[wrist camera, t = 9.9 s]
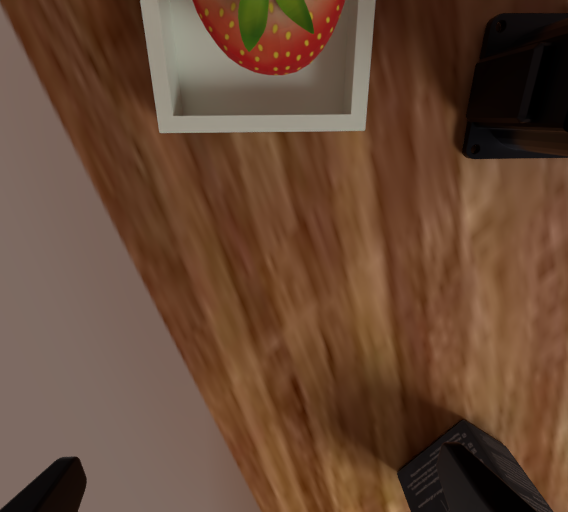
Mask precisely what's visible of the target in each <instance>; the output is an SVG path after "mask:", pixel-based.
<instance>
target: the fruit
mask: <svg viewBox="0 0 568 512" xmlns="http://www.w3.org/2000/svg"><path fill="white" fill-rule="evenodd" d="M192 1H193V3H194V6H195V9H196V11H197V14H198V15H199V17H200V19H201V21H202V23H203V24H204V26H205V28H206V30H207V31H208V33H209V34H210V35H211V37H212V38H213V40H214V41H215V43H216V44H217V46H218V47H219V48H220V49H221V50H222V51H223V52H224V53H225V54H226V55H227V57H228V58H230V59H231V60H233V61H234V62H235V63H237V64H238V65H240V66H241V67H244V68H246V69H248V70H250V71H253V72H255V73H259V74H265V75H286V74H290V73H295V72H297V71H299V70H301V69H302V68H304V67H306V66H307V65H309V64H310V63H311V62H312V61H313V60H314V59H315V58H316V57H317V56H318V55H319V54H320V53H321V51H322V50H323V49H324V47H325V45H326V44H327V42H328V41H329V39H330V37H331V36H332V33H333V31H334V29H335V27H336V25H337V22H338V20H339V18H340V15H341V12H342V9H343V6H344V3H345V0H192Z"/></svg>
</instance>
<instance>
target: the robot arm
mask: <svg viewBox="0 0 568 512" xmlns="http://www.w3.org/2000/svg"><path fill="white" fill-rule="evenodd" d="M498 22H499V23H500V24H501V30H500V32H497V31H496V25H497V23H498ZM466 118H467V120H468V122H467V127H466V133H465V138H464V143H463V148H462V153H463V155H464V156H465V157H466V158H471V159H507V158H568V13H504V14H499V15H497V16H495V17H493V18H492V19H490V21H489V22H488V23H487V26H486V29H485V34H484V39H483V44H482V50H481V55H480V60H479V62H478V63H477V64H476V67H475V72H474V77H473V82H472V88H471V93H470V98H469V103H468V109H467V114H466ZM473 145H476V150H475V151H474V152H473V153H471V148H472V146H473ZM437 473H438V476H439V479H440V482H441V485H442V489H443V492H444V495H445V498H446V501H447V504H448V507H449V510H450V512H537V511H536V510H535V509H534V508H533V507H532V506H531V505H529V504H528V503H527V502H526V501H525V500H524V499H523V498H522V497H521V496H519V495H518V494H517V493H516V492H515V491H514V490H513V489H512V488H511V487H509V486H508V485H507V484H506V483H505V482H504V481H503V480H502V479H500V478H499V477H498V476H497V475H496V474H495V473H494V472H493V471H492V470H490V469H489V468H488V467H487V466H486V465H485V464H484V463H483V462H482V461H480V460H479V459H478V458H477V457H476V456H475V455H474V454H473V453H472V452H470V451H469V450H468V449H467V448H466V447H465V446H464V445H462V444H461V443H459V442H444V443H443V444H442V445H441V448H440V452H439V456H438V460H437ZM86 480H87V479H86V475H85V472H84V470H83V467H82V464H81V462H80V459H79V458H78V457H62V458H59V459H57V460H56V461H55V462H53V463H52V464H51V465H50V466H49V467H48V468H47V469H46V470H45V471H43V472H42V473H41V474H40V475H39V476H38V477H36V478H35V479H34V480H33V481H32V482H31V483H30V484H29V485H27V486H26V487H25V488H24V489H23V490H22V491H21V492H19V493H18V494H17V495H16V496H15V497H14V498H13V499H12V500H10V501H9V502H8V503H7V504H6V505H5V506H4V507H3V508H1V509H0V512H78V509H79V506H80V503H81V500H82V497H83V494H84V492H85V488H86V483H87V481H86Z"/></svg>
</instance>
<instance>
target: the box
mask: <svg viewBox="0 0 568 512" xmlns="http://www.w3.org/2000/svg"><path fill="white" fill-rule="evenodd" d="M444 442H459V443H461V444H462V445H464V446H465V447H466V448H467V449H468V450H469V451H470V452H472V453H473V454H474V455H475V456H476V457H477V458H478V459H479V460H480V461H482V462H483V463H484V464H485V465H486V466H487V467H488V468H489V469H490V470H492V471H493V472H494V473H495V474H496V475H497V476H498V477H499V478H500V479H502V480H503V481H504V482H505V483H506V484H507V485H508V486H509V487H511V488H512V489H513V490H514V491H515V492H516V493H517V494H518V495H519V496H521V497H522V498H523V499H524V500H525V501H526V502H527V503H528V504H529V505H531V506H532V507H533V508H534V509H535V510H536V511H537V512H553V511H552V509H551V508H550V507H549V505H548V504H547V502H546V501H545V500H544V498H543V497H542V496H541V494H540V493H539V491H538V490H537V489H536V487H535V486H534V484H533V483H532V481H531V480H530V479H529V478H528V476H527V475H526V473H525V472H524V470H523V469H522V468H521V466H520V465H519V464H518V462H517V461H516V459H515V458H514V457H513V455H512V454H511V453H510V451H509V450H508V449H507V447H506V446H504V445H503V444H502V443H500V442H499V441H497V440H495V439H494V438H492V437H491V436H489V435H487V434H486V433H484V432H483V431H481V430H479V429H478V428H476V427H475V426H473V425H472V424H470V423H469V422H467V421H465V420H462V421H461V422H459V423H458V424H457V425H456V426H455V427H453V428H452V429H451V430H450V431H448V432H447V433H446V434H445V435H443V436H442V437H441V438H440V439H439V440H437V441H436V442H435V443H434V444H433V445H431V446H430V447H429V448H427V449H426V450H425V451H424V452H423V453H421V454H420V455H419V456H418V457H416V458H415V459H414V460H413V461H411V462H410V463H409V464H408V465H407V466H405V467H404V468H402V469H401V470H400V471H399V472H397V475H398V478H399V481H400V483H401V486H402V489H403V492H404V494H405V497H406V500H407V502H408V505H409V508H410V510H411V512H450V510H449V507H448V504H447V501H446V498H445V495H444V492H443V489H442V485H441V482H440V479H439V476H438V473H437V460H438V456H439V452H440V448H441V445H442V444H443V443H444Z"/></svg>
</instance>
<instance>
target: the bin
mask: <svg viewBox="0 0 568 512" xmlns="http://www.w3.org/2000/svg"><path fill="white" fill-rule="evenodd" d="M375 2H376V0H345V3H344V6H343V9H342V12H341V15H340V18H339V20H338V22H337V25H336V27H335V29H334V31H333V33H332V36H331V37H330V39H329V41H328V42H327V44H326V45H325V47H324V49H323V50H322V51H321V53H320V54H319V55H318V56H317V57H316V58H315V59H314V60H313V61H312V62H311V63H310V64H309V65H307V66H306V67H304V68H302V69H301V70H299V71H297V72H295V73H290V74H286V75H265V74H259V73H255V72H253V71H250V70H248V69H246V68H244V67H241V66H240V65H238V64H237V63H235V62H234V61H233V60H231V59H230V58H228V57H227V55H226V54H225V53H224V52H223V51H222V50H221V49H220V48H219V47H218V46H217V44H216V43H215V41H214V40H213V38H212V37H211V35H210V34H209V33H208V31H207V30H206V28H205V26H204V24H203V23H202V21H201V19H200V17H199V15H198V14H197V11H196V9H195V6H194V3H193V1H192V0H140V3H141V10H142V17H143V24H144V30H145V37H146V44H147V51H148V58H149V65H150V71H151V78H152V85H153V92H154V99H155V106H156V112H157V119H158V126H159V133H201V132H295V131H365V124H366V112H367V100H368V88H369V75H370V63H371V51H372V38H373V26H374V14H375Z"/></svg>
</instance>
